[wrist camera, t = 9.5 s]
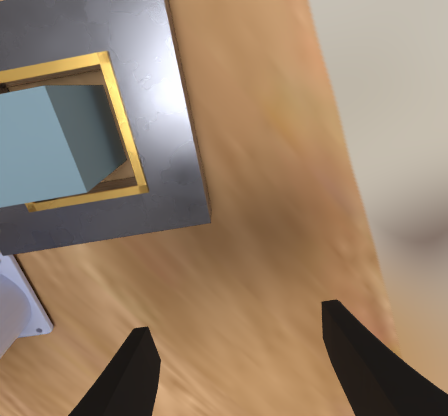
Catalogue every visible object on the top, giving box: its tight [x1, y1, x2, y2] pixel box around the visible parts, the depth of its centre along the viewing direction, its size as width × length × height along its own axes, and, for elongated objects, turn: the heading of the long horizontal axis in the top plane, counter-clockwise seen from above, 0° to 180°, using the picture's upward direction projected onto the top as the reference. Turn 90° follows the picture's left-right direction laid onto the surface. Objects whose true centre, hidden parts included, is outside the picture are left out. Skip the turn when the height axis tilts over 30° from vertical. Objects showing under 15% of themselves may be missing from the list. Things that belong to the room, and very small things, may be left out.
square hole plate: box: [0, 0, 212, 256], centre depth 16 cm, size 14×13×2 cm
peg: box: [0, 85, 127, 208], centre depth 15 cm, size 4×4×6 cm
